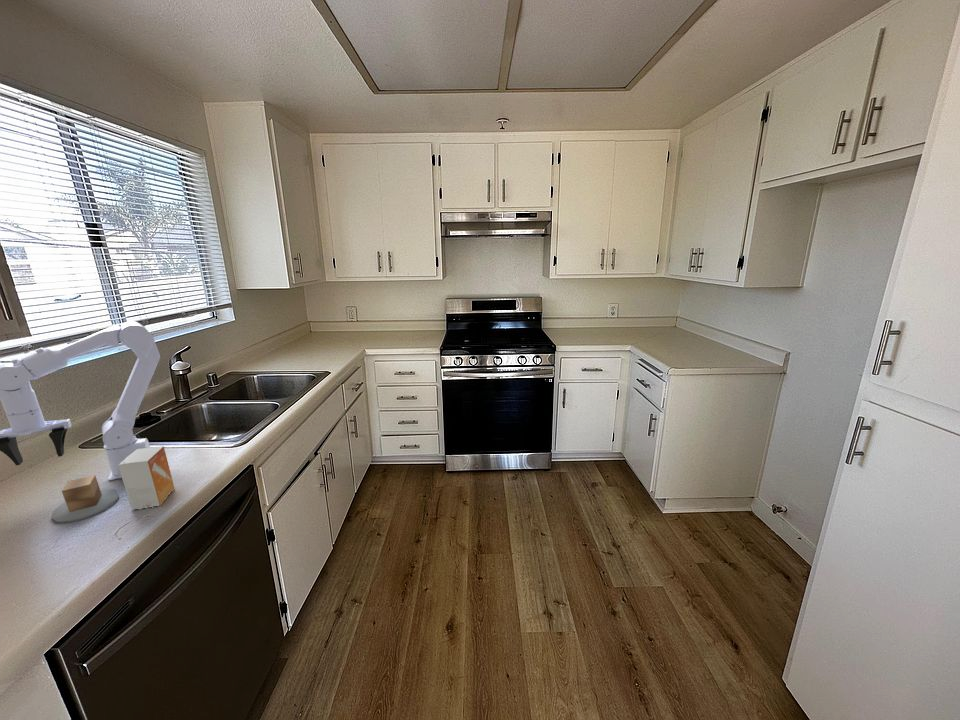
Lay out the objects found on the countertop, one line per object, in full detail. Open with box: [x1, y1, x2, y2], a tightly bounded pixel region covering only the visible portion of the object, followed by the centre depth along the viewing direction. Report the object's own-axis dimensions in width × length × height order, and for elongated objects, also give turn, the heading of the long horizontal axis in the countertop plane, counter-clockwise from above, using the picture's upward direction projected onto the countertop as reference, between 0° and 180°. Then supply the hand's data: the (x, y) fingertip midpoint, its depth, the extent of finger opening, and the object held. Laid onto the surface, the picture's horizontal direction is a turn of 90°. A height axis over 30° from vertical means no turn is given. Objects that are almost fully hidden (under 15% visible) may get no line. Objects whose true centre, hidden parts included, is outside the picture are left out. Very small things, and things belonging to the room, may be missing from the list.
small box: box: [118, 445, 175, 511], centre depth 100 cm, size 8×6×13 cm
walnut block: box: [61, 474, 102, 512], centre depth 98 cm, size 5×5×6 cm
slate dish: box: [51, 488, 120, 524], centre depth 99 cm, size 12×12×1 cm
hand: (40, 459), depth 102 cm, fingers open, 7 cm apart
